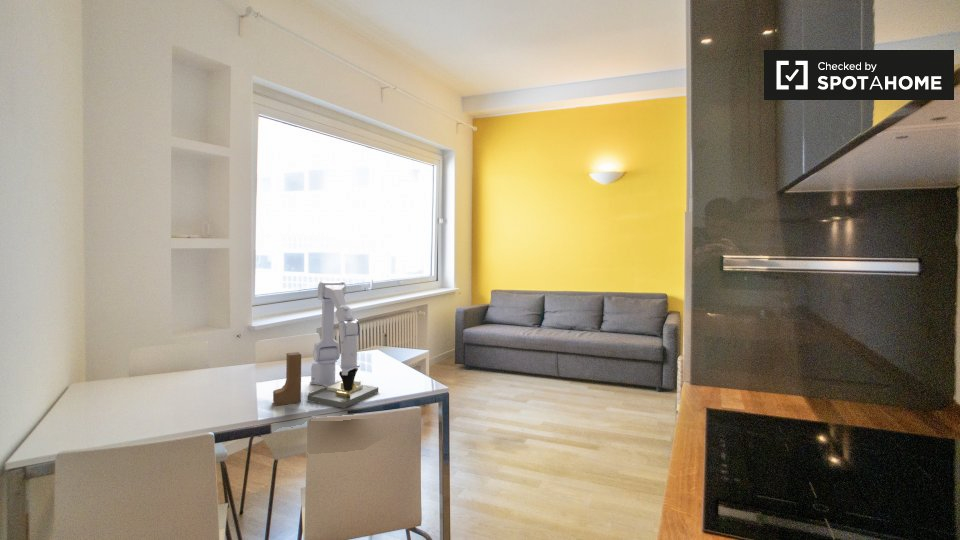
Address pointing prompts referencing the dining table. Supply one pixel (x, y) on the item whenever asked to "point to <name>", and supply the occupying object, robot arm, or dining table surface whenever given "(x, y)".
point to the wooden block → (290, 382)
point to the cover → (338, 388)
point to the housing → (337, 400)
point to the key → (353, 388)
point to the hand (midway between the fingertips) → (348, 389)
